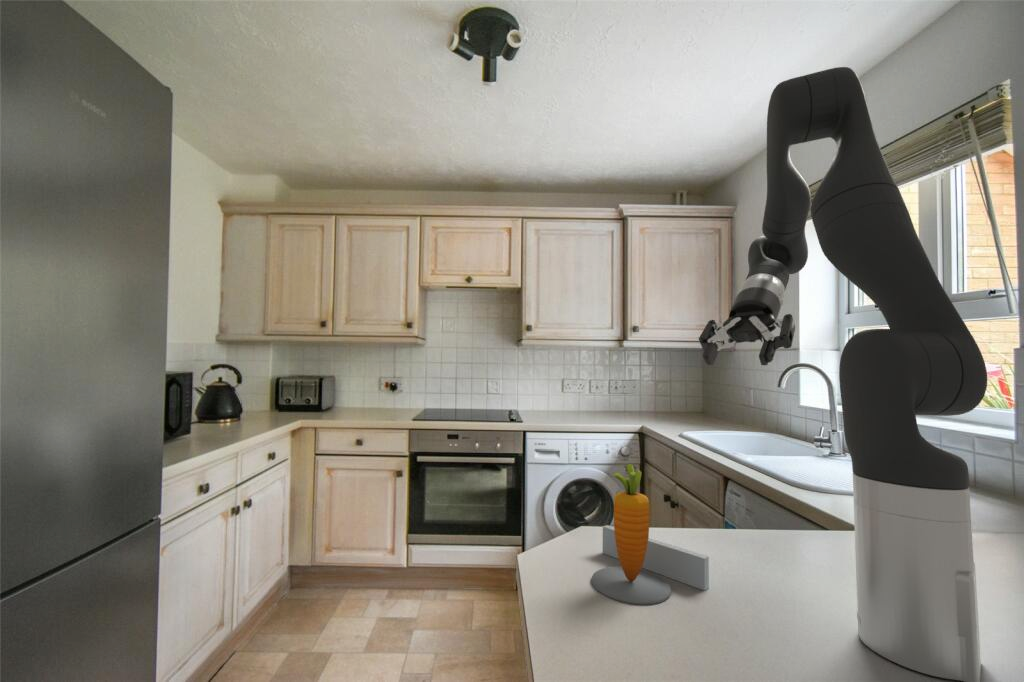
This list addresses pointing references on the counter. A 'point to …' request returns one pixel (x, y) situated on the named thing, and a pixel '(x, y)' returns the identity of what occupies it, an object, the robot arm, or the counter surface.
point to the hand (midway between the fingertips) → (734, 361)
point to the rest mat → (631, 586)
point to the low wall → (667, 560)
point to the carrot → (631, 524)
